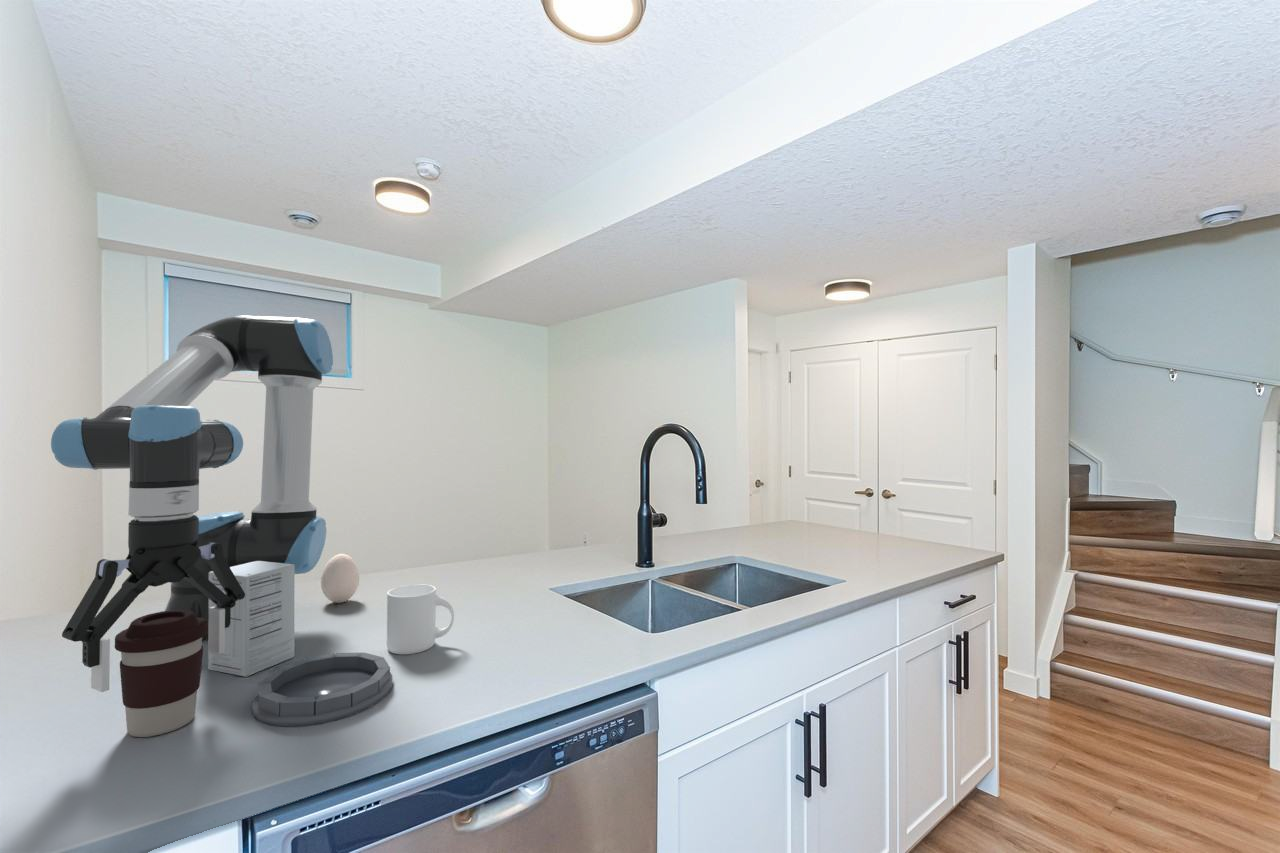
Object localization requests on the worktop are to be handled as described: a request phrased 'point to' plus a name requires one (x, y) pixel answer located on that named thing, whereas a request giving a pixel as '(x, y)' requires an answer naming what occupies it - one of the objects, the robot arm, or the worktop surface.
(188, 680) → the coffee cup
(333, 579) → the egg
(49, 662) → the worktop surface
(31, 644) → the worktop surface
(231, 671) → the supplement box
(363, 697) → the bowl
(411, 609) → the mug
